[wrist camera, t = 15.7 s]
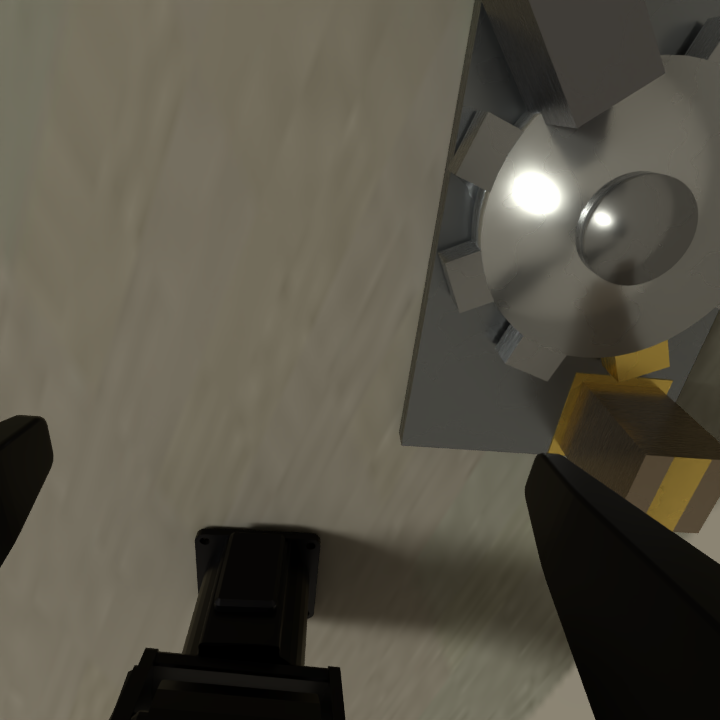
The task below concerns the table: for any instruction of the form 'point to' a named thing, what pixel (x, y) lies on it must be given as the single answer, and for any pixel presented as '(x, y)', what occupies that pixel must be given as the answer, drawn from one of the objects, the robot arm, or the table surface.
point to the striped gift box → (646, 452)
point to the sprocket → (593, 189)
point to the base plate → (486, 323)
